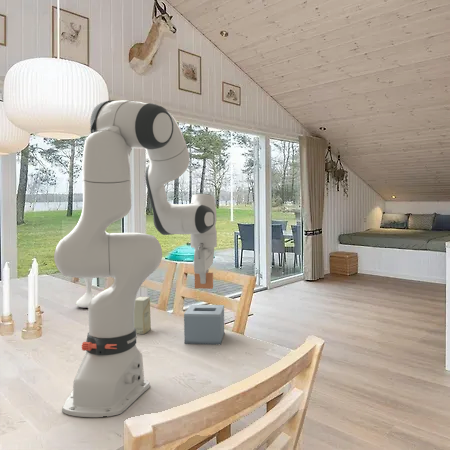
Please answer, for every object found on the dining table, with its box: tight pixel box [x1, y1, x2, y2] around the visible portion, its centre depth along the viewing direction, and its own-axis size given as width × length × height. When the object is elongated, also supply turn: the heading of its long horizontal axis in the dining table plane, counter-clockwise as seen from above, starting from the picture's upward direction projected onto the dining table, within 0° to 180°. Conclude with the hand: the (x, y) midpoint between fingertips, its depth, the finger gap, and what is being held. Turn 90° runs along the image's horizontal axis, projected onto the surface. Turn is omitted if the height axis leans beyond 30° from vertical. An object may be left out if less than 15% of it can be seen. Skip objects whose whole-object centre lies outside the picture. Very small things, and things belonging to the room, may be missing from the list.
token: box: [194, 272, 214, 290], centre depth 139 cm, size 2×6×5 cm, turn 85°
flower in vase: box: [75, 278, 97, 309], centre depth 184 cm, size 13×11×25 cm
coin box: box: [183, 304, 225, 346], centre depth 139 cm, size 12×12×10 cm
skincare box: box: [134, 296, 152, 335], centre depth 148 cm, size 6×4×12 cm
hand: (204, 282), depth 139 cm, fingers closed on token, 2 cm apart
